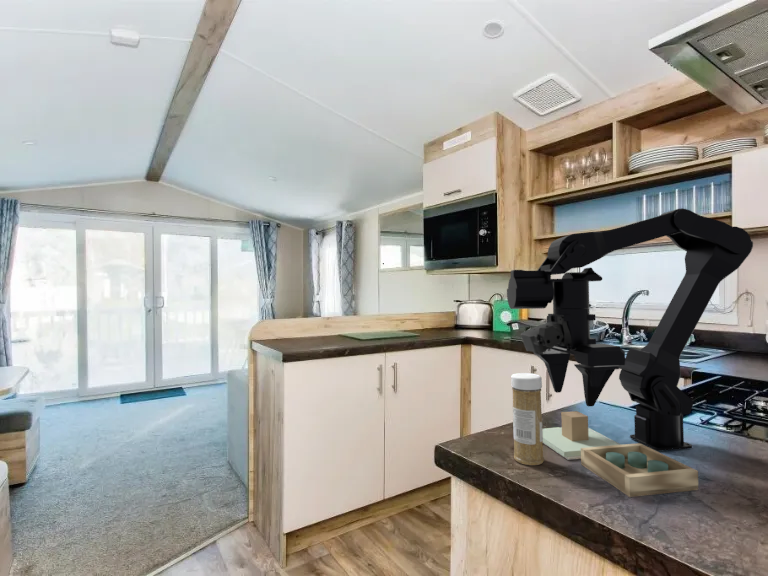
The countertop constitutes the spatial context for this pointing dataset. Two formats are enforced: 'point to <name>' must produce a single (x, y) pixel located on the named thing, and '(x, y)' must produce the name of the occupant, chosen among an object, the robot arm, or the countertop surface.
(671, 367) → the robot arm
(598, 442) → the lid
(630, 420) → the countertop surface
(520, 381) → the sprinkles bottle
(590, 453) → the box
